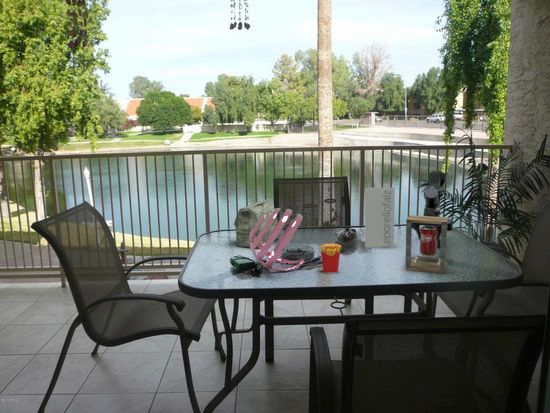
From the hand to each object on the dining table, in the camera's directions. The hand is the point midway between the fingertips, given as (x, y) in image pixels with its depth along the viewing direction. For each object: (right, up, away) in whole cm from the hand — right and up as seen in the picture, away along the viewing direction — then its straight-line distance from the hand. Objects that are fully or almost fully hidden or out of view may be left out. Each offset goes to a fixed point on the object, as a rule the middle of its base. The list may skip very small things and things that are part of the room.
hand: (428, 240), depth 199 cm
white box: (-14, -6, +32) cm, 36 cm away
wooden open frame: (-1, -11, -1) cm, 12 cm away
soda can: (+1, -6, +3) cm, 7 cm away
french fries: (-43, -13, -4) cm, 45 cm away
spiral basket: (-66, -13, +4) cm, 68 cm away
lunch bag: (-77, -5, +47) cm, 90 cm away
